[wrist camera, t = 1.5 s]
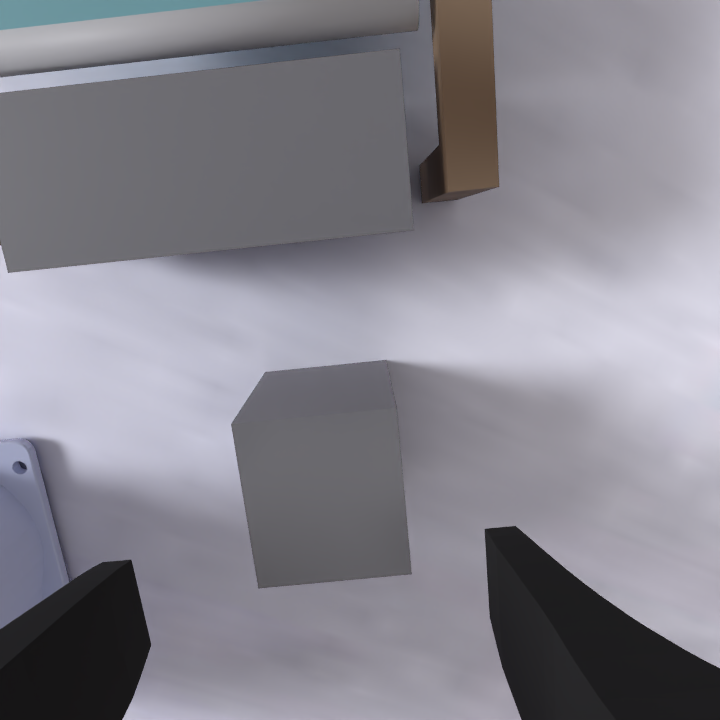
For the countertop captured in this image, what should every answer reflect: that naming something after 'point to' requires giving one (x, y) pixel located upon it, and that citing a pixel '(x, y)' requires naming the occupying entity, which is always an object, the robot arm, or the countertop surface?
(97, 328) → the countertop surface
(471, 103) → the frame
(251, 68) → the trapdoor
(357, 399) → the gray block
